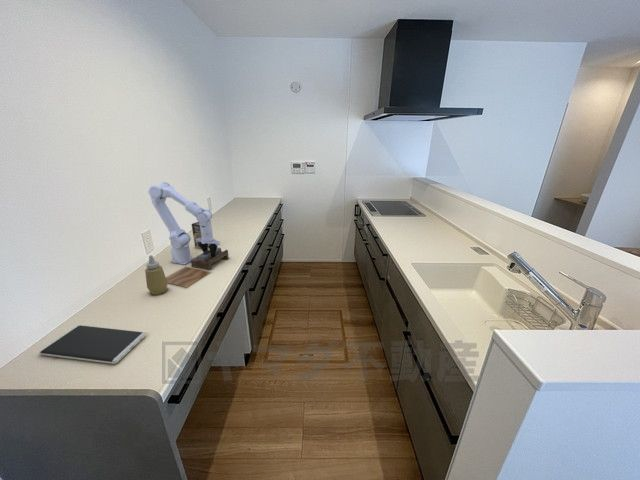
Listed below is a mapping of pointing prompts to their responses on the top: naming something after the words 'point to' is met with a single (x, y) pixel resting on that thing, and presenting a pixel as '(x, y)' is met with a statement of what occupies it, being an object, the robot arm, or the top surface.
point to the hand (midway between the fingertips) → (209, 255)
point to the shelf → (209, 260)
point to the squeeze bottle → (155, 277)
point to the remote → (207, 255)
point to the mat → (186, 277)
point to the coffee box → (197, 234)
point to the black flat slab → (94, 344)
